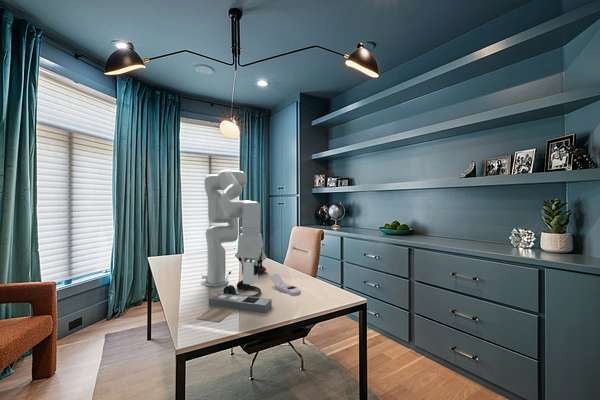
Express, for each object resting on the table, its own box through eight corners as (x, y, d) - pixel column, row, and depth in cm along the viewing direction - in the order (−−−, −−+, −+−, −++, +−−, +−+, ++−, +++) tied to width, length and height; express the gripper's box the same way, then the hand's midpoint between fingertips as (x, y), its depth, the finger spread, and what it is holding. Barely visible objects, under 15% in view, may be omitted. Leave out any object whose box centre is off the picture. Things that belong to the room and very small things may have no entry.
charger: (242, 283, 112) (243, 258, 112) (248, 280, 117) (248, 256, 117) (253, 284, 111) (253, 259, 111) (257, 281, 116) (258, 256, 115)
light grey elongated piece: (277, 273, 150) (304, 284, 129) (277, 283, 150) (304, 296, 129) (267, 274, 146) (294, 287, 126) (267, 285, 146) (294, 299, 126)
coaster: (196, 321, 102) (196, 318, 102) (211, 311, 112) (211, 308, 112) (219, 324, 100) (219, 321, 100) (232, 313, 109) (232, 310, 109)
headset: (237, 268, 141) (267, 278, 131) (235, 286, 142) (265, 297, 132) (217, 275, 130) (249, 286, 120) (216, 294, 130) (247, 307, 120)
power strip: (208, 307, 115) (208, 297, 115) (217, 301, 122) (218, 292, 122) (265, 315, 108) (265, 304, 108) (271, 308, 115) (271, 298, 115)
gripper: (228, 230, 112) (228, 274, 113) (266, 232, 108) (265, 278, 108) (237, 228, 120) (237, 269, 120) (272, 230, 115) (272, 273, 115)
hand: (250, 273), depth 114 cm, fingers closed on charger, 4 cm apart
